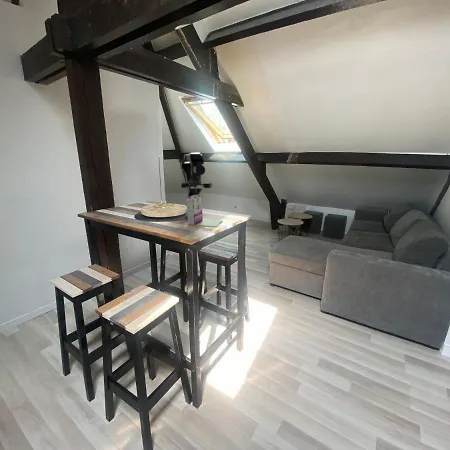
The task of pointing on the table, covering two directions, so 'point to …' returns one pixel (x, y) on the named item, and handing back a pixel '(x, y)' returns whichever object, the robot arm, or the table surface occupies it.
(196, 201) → the candy bar box
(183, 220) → the table surface
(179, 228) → the table surface
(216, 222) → the mat
